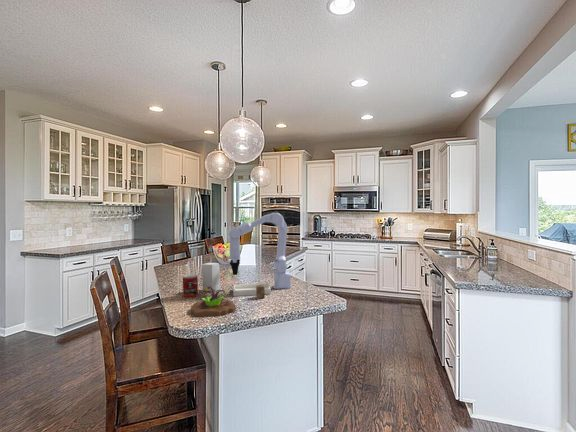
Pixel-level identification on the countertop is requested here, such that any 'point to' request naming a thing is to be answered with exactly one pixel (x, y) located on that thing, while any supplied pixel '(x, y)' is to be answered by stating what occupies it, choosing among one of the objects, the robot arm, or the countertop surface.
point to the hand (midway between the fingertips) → (235, 273)
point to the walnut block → (260, 291)
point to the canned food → (190, 285)
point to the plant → (213, 306)
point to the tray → (249, 289)
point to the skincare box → (211, 276)
